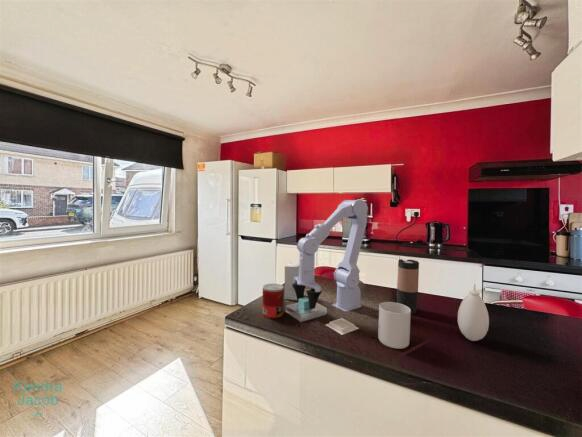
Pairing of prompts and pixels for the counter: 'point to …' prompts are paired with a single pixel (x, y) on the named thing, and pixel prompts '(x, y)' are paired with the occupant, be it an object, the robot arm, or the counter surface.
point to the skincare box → (290, 280)
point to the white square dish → (342, 326)
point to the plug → (304, 303)
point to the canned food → (273, 300)
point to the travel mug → (408, 283)
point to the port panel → (305, 312)
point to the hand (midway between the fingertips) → (306, 305)
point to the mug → (394, 325)
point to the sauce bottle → (473, 316)
